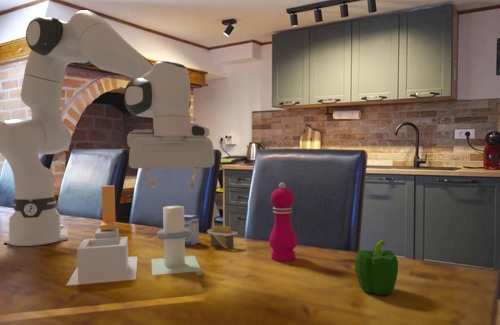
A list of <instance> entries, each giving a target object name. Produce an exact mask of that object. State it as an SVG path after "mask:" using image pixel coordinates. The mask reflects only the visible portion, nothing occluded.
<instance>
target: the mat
mask: <svg viewBox="0 0 500 325" xmlns="http://www.w3.org/2000/svg"><path fill="white" fill-rule="evenodd" d="M150 260H151V275H152V276H159V275H169V274H170V275H171V274H173V275H174V274H182V273H184V274H185V273H193V272H194V273H195V275H196V276H203V275H202V269H201V267H200V265H199V263H198V260H197V258H196V256H195V255H187V256H186V255H185V265H184V266H181V267H175V268H170V267H165V266H164V257H162V258H161V257H160V258H151V259H150Z"/></svg>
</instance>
